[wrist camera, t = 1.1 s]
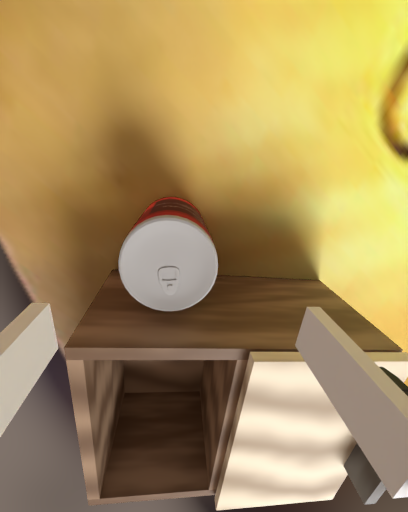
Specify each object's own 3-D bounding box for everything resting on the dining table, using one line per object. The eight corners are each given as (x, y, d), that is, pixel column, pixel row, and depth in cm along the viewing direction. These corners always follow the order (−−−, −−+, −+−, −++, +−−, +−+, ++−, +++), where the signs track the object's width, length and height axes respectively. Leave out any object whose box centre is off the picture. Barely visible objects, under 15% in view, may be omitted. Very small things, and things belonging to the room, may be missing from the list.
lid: (250, 351, 18) (268, 400, 14) (406, 352, 20) (457, 395, 16) (214, 498, 26) (220, 552, 23) (327, 488, 28) (349, 537, 25)
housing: (112, 269, 28) (64, 347, 16) (319, 280, 32) (402, 349, 20) (118, 393, 37) (88, 505, 25) (282, 390, 40) (325, 485, 28)
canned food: (154, 267, 29) (141, 323, 19) (129, 206, 26) (97, 235, 15) (211, 249, 29) (229, 296, 19) (193, 187, 26) (203, 203, 15)
